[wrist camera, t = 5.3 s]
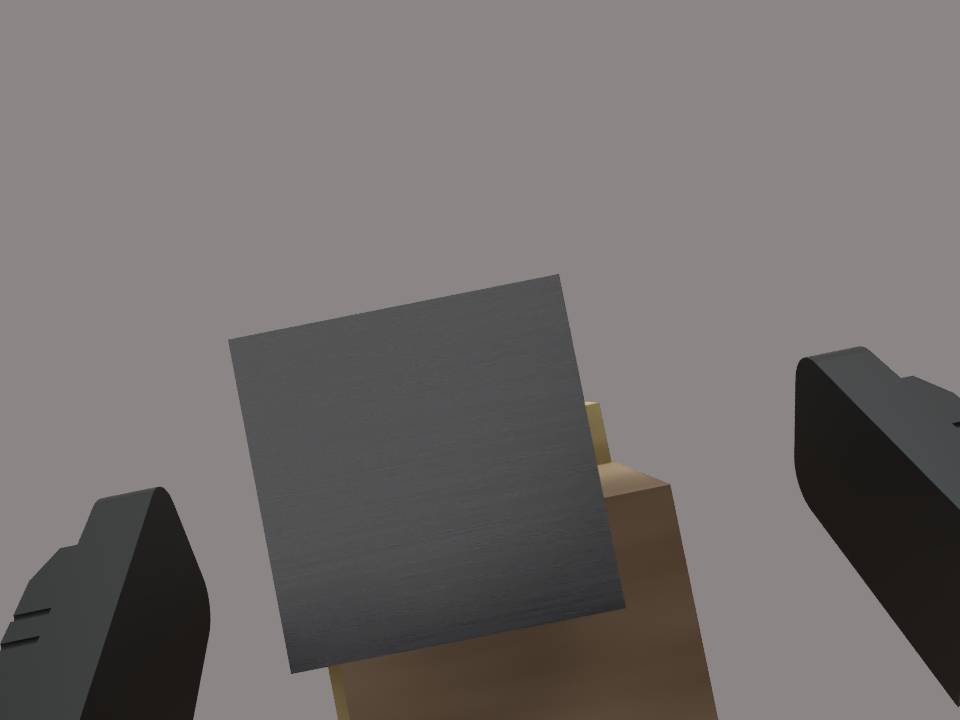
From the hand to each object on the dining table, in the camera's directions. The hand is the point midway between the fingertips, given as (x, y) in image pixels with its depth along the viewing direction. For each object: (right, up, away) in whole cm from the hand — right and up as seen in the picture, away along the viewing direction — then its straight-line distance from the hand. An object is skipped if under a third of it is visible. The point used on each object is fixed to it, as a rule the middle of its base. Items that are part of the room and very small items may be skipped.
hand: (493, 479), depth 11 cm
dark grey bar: (0, -2, +9) cm, 9 cm away
